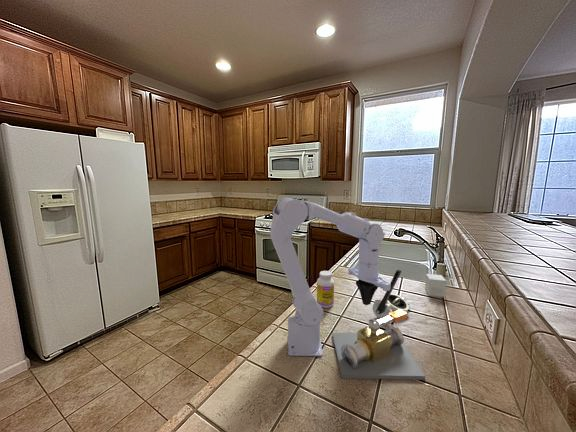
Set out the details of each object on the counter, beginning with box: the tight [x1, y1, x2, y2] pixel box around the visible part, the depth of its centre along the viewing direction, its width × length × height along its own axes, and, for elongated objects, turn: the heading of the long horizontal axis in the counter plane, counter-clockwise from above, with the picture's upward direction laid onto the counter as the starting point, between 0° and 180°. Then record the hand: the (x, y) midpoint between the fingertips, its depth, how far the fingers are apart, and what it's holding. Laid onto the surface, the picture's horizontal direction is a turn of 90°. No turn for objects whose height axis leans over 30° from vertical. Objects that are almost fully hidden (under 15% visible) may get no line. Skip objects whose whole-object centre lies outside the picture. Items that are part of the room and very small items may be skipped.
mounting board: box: [332, 332, 426, 381], centre depth 65 cm, size 20×16×1 cm
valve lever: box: [367, 309, 408, 331], centre depth 66 cm, size 13×3×2 cm, turn 117°
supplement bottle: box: [316, 270, 335, 309], centre depth 91 cm, size 7×7×13 cm
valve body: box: [341, 324, 405, 369], centre depth 65 cm, size 18×6×8 cm, turn 118°
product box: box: [424, 273, 447, 298], centre depth 99 cm, size 6×6×7 cm
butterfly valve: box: [372, 269, 412, 320], centre depth 83 cm, size 9×20×17 cm
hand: (366, 303), depth 72 cm, fingers closed
